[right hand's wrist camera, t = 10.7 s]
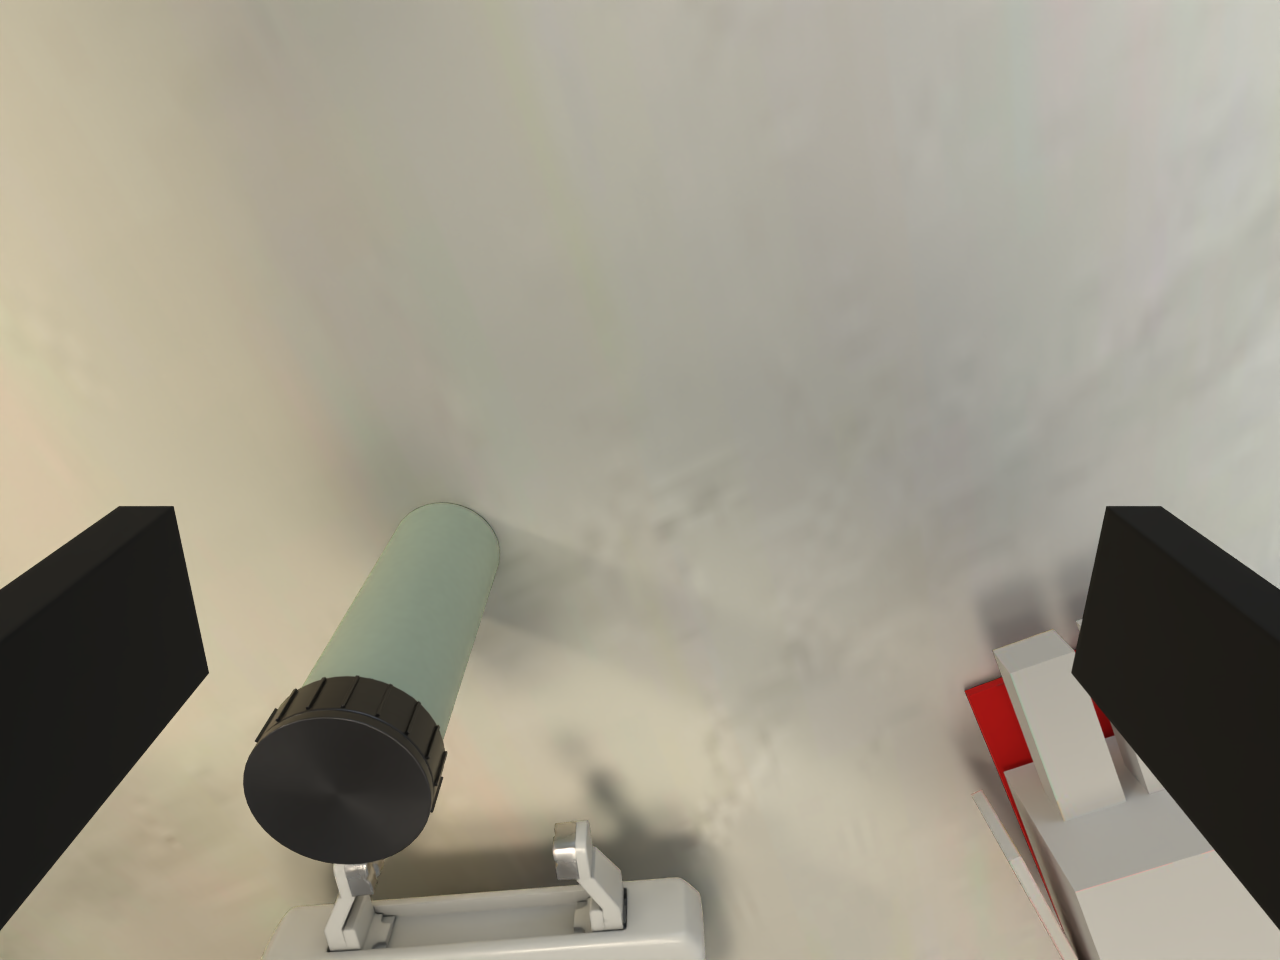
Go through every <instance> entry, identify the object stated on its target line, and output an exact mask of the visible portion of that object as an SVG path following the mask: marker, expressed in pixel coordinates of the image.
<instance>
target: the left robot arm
mask: <svg viewBox="0 0 1280 960" xmlns="http://www.w3.org/2000/svg"><path fill="white" fill-rule="evenodd" d="M554 830H555V836H554V837H553V856H554V861H555V862H556V874H557V879H558V880H572V879H576V881H577V882H578V883H579V884H580V885H568V886H555V887H542V888H529V889H516V890H504V891H491V892H478V893H465V894H452V895H439V896H426V897H413V898H400V899H387V900H374V901H371V898H370V895H373V894H374V892H375V889H376V886H377V883H378V881H377V877H378V876H379V875H380V874H381V871H382V868H383V865H384V859H382V860H379V861H375V862H371V863H364V864H352V865H346V864H334V866H333V871H334V876H335V880H336V883H337V886H338V890H339V893H338V896H337V898H336V901H335V904H322V905H306V906H297V907H293V908H291V909H290V910H289V911H288V912H287V913H286V914H285V915H284V917H283V918H282V920H281V921H280V922H279V924H278V925H277V927H276V929H275V930H274V932H273V934H272V936H271V938H270V940H269V942H268V944H267V946H266V948H265V951H264V953H263V955H262V958H261V960H706V954H705V938H704V923H703V912H702V903H701V896H700V893H699V892H698V891H697V890H696V889H695V888H694V887H693V886H691V885H690V884H689V883H688V882H686V881H685V880H684V879H682V878H677V877H671V878H659V879H646V880H633V881H622V875H621V870H620V869H619V868H618V867H617V866H616V865H615V864H614V863H613V862H612V861H610V860H609V859H608V858H607V857H606V856H605V855H604V854H603V853H602V852H601V851H600V850H599V849H598V848H597V847H593V844H592V838H591V831H590V824H589V821H588V820H584V821H573V822H563V823H556V824H555V828H554Z"/></svg>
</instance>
